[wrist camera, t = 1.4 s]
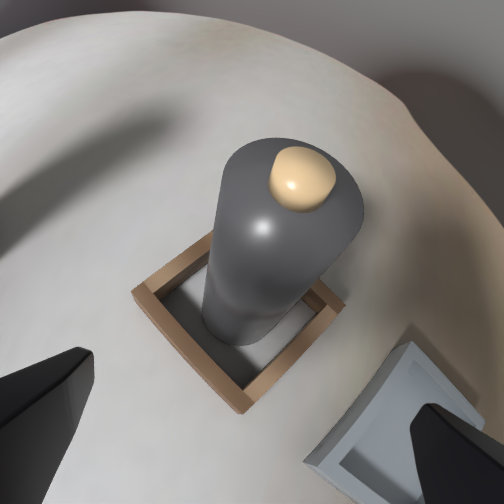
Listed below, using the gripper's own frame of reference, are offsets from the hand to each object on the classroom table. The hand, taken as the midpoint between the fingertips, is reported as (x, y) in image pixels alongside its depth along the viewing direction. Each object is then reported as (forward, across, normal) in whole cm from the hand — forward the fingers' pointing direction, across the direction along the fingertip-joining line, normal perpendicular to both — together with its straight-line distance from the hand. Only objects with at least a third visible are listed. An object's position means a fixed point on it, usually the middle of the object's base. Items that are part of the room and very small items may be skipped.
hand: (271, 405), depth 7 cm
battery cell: (+14, 0, +4) cm, 15 cm away
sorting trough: (+8, -14, +10) cm, 19 cm away
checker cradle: (+14, 0, +4) cm, 15 cm away
